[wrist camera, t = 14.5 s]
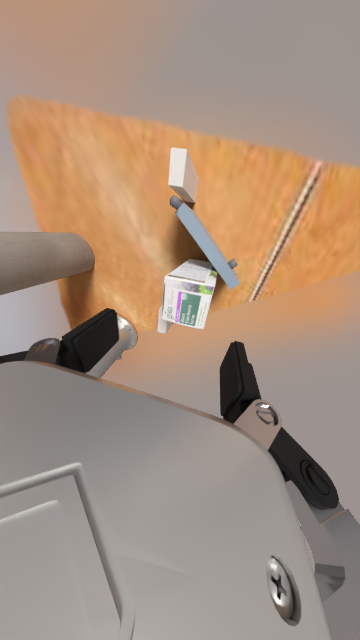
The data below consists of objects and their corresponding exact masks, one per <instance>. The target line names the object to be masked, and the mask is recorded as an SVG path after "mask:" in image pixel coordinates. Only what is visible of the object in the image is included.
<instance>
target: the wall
mask: <svg viewBox="0 0 360 640" xmlns="http://www.w3.org/2000/svg"><path fill="white" fill-rule="evenodd" d="M198 183H199V179H198V176H197V173H196V171H195V168H194V166H193V163H192V161H191V158H190V156H189V153H188V150H187V149H180V148H171V156H170V170H169V183H168V185H169V186H170V187H171V188H172V189H173V190H174V191H175V192H176V193H177V194H178V195H179V196H180V197H182V198H183V199H184V200H185V201H186V202H193V203H195V202H196V195H197V189H198ZM161 316H162V306H161V307H160V308H159V319H158V332H160V333H164V334H166V333H167V331H168V329H169V327H170V325H171V324H172V322H170V321H166V320H163V319H161Z"/></svg>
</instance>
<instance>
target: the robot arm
mask: <svg viewBox="0 0 360 640" xmlns="http://www.w3.org/2000/svg"><path fill="white" fill-rule="evenodd" d="M62 339H63V340H61V341H59V339H56V338H47V339H43V340H40V341H38V342H36V343H34V344H33V345H32V346H31V347H30V349H29V350H28V351H24V352H18V353H14V354H9V355H5V356H0V640H360V525H359V523H358V522H357V521H356V519H355V518H354V516H353V515H352V514H351V512H350V511H349V510H348V509H344V508H343V507H342V505H341V504H340V502H339V498H338V494H337V490H336V488H335V486H334V484H333V482H332V480H331V479H330V477H329V476H328V475H327V474H326V472H325V471H324V470H323V469H322V468H321V467H320V466H319V465H318V463H317V462H315V460H314V459H313V458H312V457H311V456H310V455H309V454H308V453H307V452H306V451H305V450H304V449H303V448H302V447H301V446H300V445H299V444H298V443H297V442H296V441H295V440H294V439H293V438H292V437H291V436H290V435H289V434H288V433H287V432H286V431H285V430H284V429H283V428H282V427H281V425H282V420H281V417H280V415H279V413H278V411H277V410H276V409H275V408H274V407H273V406H272V405H271V404H270V403H268V402H266V401H264V400H261V396H260V393H259V389H258V385H257V382H256V378H255V374H254V371H253V367H252V365H251V364H250V363H248V360H247V356H246V352H245V348H244V344H243V343H241V342H237V341H235V342H234V343H233V342H232V343H231V344H230V346H229V349H228V351H227V353H226V355H225V357H224V360H223V362H222V364H221V366H220V407H221V416H223V419H221V418H218V417H216V416H213V415H211V414H207V413H205V412H202V411H199V410H196V409H193V408H190V407H188V406H184V405H181V404H178V403H175V402H172V401H169V400H166V399H163V398H160V397H157V396H154V395H151V394H147V393H144V392H142V391H138V390H135V389H132V388H129V387H126V386H123V385H120V384H116V383H114V382H110V381H107V380H104V379H101V377H102V376H103V374H104V373H105V372H106V371H107V370H108V368H109V367H110V366H111V365H112V364H113V363H114V361H115V360H116V359H118V360H119V359H121V354H122V352H123V351H124V350H128V349H131V348H133V347H134V346H135V344H136V343H137V339H138V336H137V332H136V330H135V328H134V326H133V325H132V324H131V323H130V322H129V321H128V320H127V319H126V318H124V317H122V316H120V315H118V314H117V313H116V312H115V310H113V309H109V308H106V309H105V310H103V311H101V312H100V313H98V314H97V315H95V316H94V317H92V318H90V319H89V320H87V321H86V322H84V323H83V324H81V325H80V326H78V327H76V328H75V329H73V330H72V331H70V332H69V333H67V334H65V335H64V336H62ZM298 520H299V521H300V523H301V525H302V526H301V527H300V525H299V521H298ZM301 530H302V531H301ZM302 532H303V534H304V535H305V537H306V539H307V541H308V543H309V546H310V548H311V550H312V553H313V558H314V561H315V574H314V573H313V570H312V566H311V563H310V559H309V556H308V552H307V549H306V545H305V542H304V538H303V535H302Z"/></svg>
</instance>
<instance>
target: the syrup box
mask: <svg viewBox="0 0 360 640" xmlns="http://www.w3.org/2000/svg"><path fill="white" fill-rule="evenodd" d="M217 273H218V272H217V270H216V269H215V267H214V266H213V265H212V263H211V262H208V261H201V260H195V259H189V260H187V261H186V262H185V263H183V264H182V265H180V266H179V267H178V268H176V269H175V270H173V271H172V272H171V273H169V274H168V275H166V276H165V277H164V289H163V297H162V316H161V319H163V320H166V321H170V322H173V323H176V324H180V325H184V326H188V327H193V328H199V329H203V328H204V325H205V321H206V317H207V314H208V310H209V307H210V303H211V300H212V296H213V292H214V288H215V284H216V278H217Z"/></svg>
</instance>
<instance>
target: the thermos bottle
mask: <svg viewBox="0 0 360 640" xmlns="http://www.w3.org/2000/svg"><path fill="white" fill-rule="evenodd" d="M93 266H94V255H93V252H92V249H91V247H90V246H89V244H88V243H87V242H86V240H85V239H84V238H82V237H81V236H80V235H78V234H75V233H46V232H0V295H3V294H6V293H10V292H14V291H17V290H21V289H24V288H28V287H32V286H35V285H39V284H43V283H46V282H50V281H54V280H58V279H61V278H65V277H69V276H72V275H76V274H80V273H83V272H87V271H89V270H91V269H92V268H93Z"/></svg>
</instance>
